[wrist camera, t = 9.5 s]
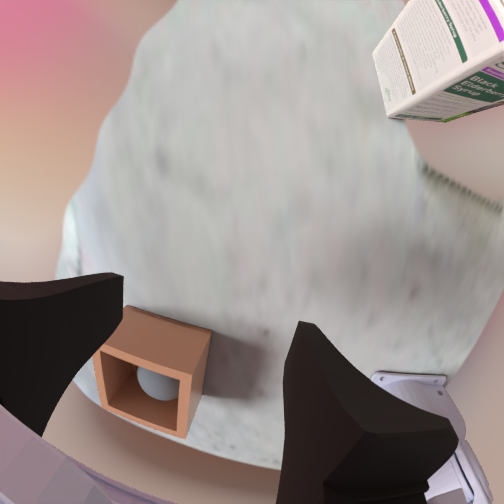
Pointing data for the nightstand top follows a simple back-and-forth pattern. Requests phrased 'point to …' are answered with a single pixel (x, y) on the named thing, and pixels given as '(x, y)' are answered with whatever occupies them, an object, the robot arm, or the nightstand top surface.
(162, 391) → the ball
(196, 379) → the open square bin
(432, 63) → the syrup box
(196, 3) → the nightstand top surface
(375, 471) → the robot arm
